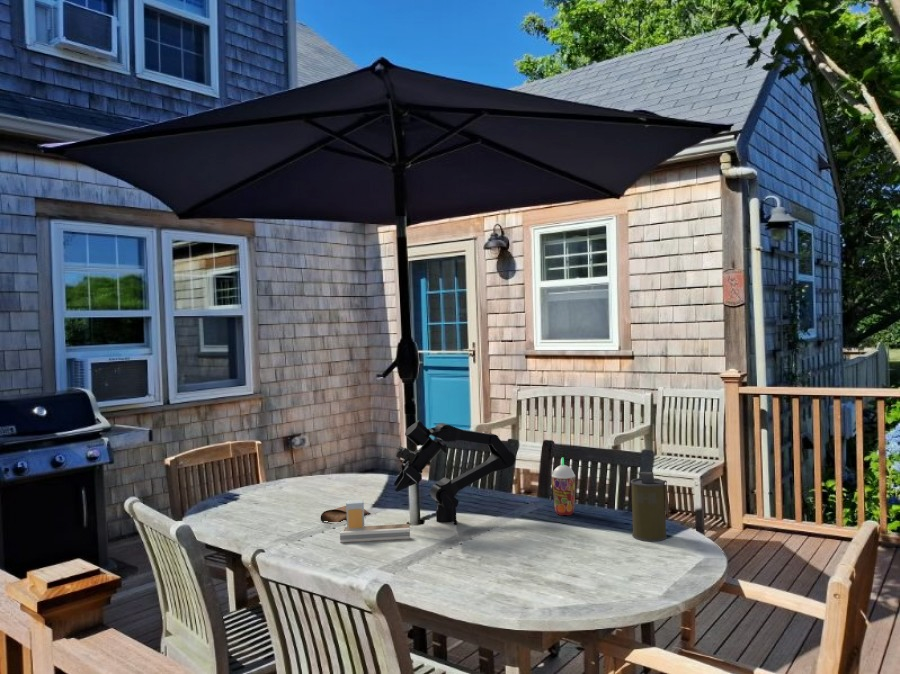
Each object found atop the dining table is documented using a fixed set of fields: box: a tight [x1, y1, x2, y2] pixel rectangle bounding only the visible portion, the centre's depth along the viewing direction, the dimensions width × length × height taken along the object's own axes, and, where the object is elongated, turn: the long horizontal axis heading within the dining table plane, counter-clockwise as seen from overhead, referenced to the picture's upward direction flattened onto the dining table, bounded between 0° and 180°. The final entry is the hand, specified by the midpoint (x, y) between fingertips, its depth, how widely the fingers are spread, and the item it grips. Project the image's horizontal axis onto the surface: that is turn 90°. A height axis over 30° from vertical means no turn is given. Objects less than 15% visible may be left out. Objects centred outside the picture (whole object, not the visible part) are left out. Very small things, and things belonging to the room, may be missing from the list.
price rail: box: [339, 527, 411, 543], centre depth 231 cm, size 22×2×3 cm, turn 93°
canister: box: [630, 471, 669, 542], centre depth 227 cm, size 11×10×20 cm
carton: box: [345, 499, 366, 531], centre depth 237 cm, size 6×5×11 cm
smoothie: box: [551, 457, 576, 516], centre depth 257 cm, size 8×8×20 cm
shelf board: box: [339, 523, 411, 544], centre depth 239 cm, size 22×18×1 cm
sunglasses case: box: [320, 505, 370, 523], centre depth 264 cm, size 18×7×7 cm
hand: (395, 487), depth 248 cm, fingers open, 9 cm apart
